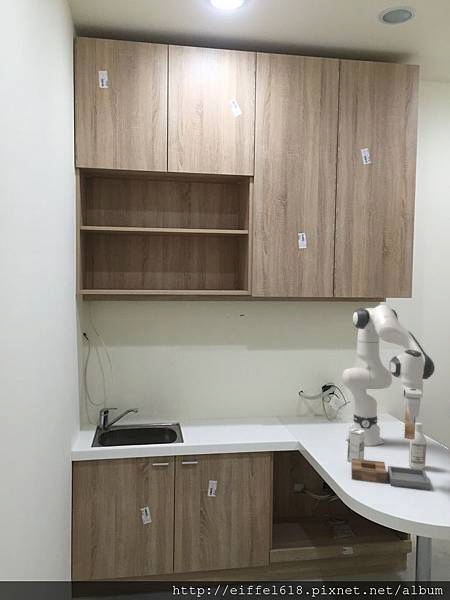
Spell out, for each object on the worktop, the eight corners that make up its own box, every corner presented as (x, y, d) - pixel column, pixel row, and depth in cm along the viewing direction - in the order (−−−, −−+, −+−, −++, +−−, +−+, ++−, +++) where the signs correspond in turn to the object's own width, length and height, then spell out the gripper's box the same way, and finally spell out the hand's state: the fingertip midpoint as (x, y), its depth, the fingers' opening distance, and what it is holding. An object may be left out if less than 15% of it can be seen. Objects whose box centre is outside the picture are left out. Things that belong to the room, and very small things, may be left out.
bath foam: (427, 469, 224) (429, 425, 223) (412, 469, 224) (414, 425, 223) (420, 464, 231) (422, 421, 230) (406, 464, 231) (408, 421, 230)
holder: (351, 467, 224) (351, 458, 224) (383, 470, 221) (384, 462, 221) (351, 479, 211) (352, 469, 211) (386, 483, 208) (386, 473, 207)
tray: (387, 472, 219) (388, 465, 219) (424, 476, 216) (424, 469, 216) (390, 485, 205) (390, 478, 205) (429, 490, 201) (430, 483, 201)
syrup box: (352, 457, 237) (353, 427, 236) (364, 461, 233) (365, 430, 233) (347, 461, 232) (348, 430, 232) (359, 464, 229) (360, 432, 228)
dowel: (403, 436, 212) (405, 403, 212) (413, 436, 211) (415, 404, 211) (405, 438, 208) (406, 405, 208) (415, 439, 207) (416, 406, 207)
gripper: (400, 384, 220) (399, 415, 220) (406, 394, 200) (404, 428, 200) (416, 385, 218) (414, 416, 219) (423, 395, 198) (421, 429, 199)
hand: (410, 422), depth 209 cm, fingers closed on dowel, 4 cm apart
